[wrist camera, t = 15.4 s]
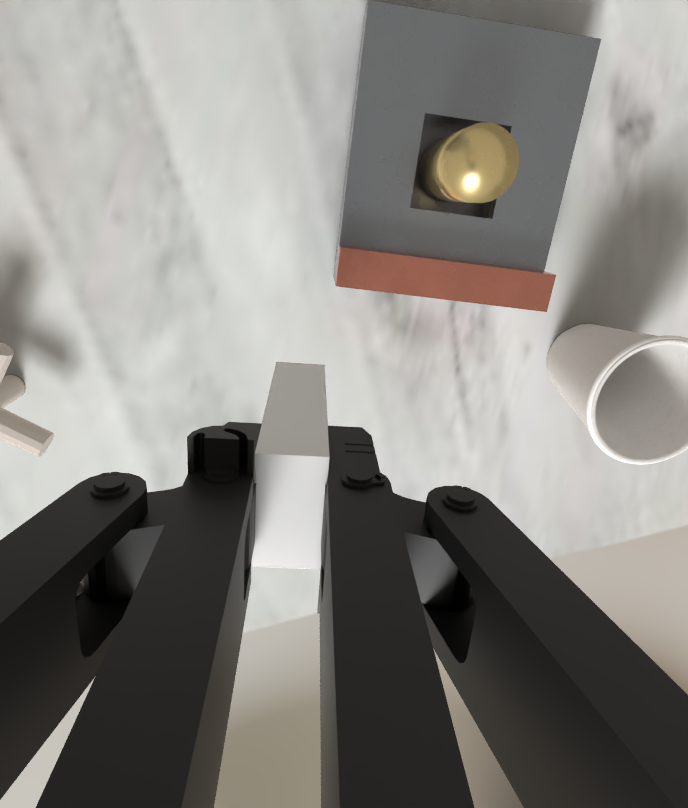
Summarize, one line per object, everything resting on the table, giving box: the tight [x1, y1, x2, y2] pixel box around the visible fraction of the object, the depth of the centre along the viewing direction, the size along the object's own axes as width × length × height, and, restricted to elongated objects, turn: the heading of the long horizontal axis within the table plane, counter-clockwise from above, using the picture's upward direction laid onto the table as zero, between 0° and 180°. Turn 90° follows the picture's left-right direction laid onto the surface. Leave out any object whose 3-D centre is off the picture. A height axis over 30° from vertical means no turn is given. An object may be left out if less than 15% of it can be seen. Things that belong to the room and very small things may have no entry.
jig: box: [334, 0, 601, 312], centre depth 35 cm, size 16×14×5 cm
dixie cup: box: [546, 324, 688, 464], centre depth 38 cm, size 8×8×10 cm
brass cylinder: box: [419, 122, 519, 203], centre depth 33 cm, size 4×4×8 cm
